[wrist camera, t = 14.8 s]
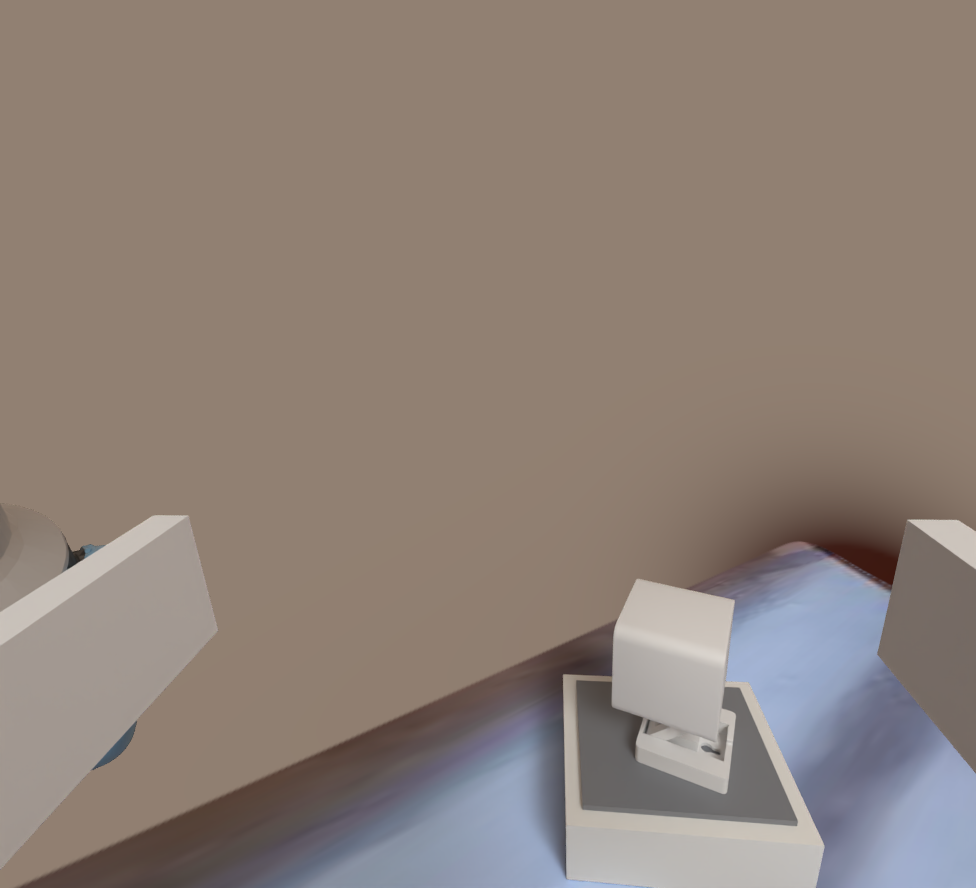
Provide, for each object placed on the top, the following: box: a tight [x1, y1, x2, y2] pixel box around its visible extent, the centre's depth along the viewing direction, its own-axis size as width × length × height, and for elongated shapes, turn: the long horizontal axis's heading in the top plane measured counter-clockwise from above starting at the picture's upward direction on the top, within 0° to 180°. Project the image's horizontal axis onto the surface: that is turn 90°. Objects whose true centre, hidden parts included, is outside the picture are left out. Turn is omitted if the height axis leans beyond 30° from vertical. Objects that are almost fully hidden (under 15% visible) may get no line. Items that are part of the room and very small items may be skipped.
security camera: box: [612, 579, 736, 794], centre depth 34 cm, size 6×7×10 cm
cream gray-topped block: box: [563, 674, 824, 888], centre depth 36 cm, size 14×12×5 cm
